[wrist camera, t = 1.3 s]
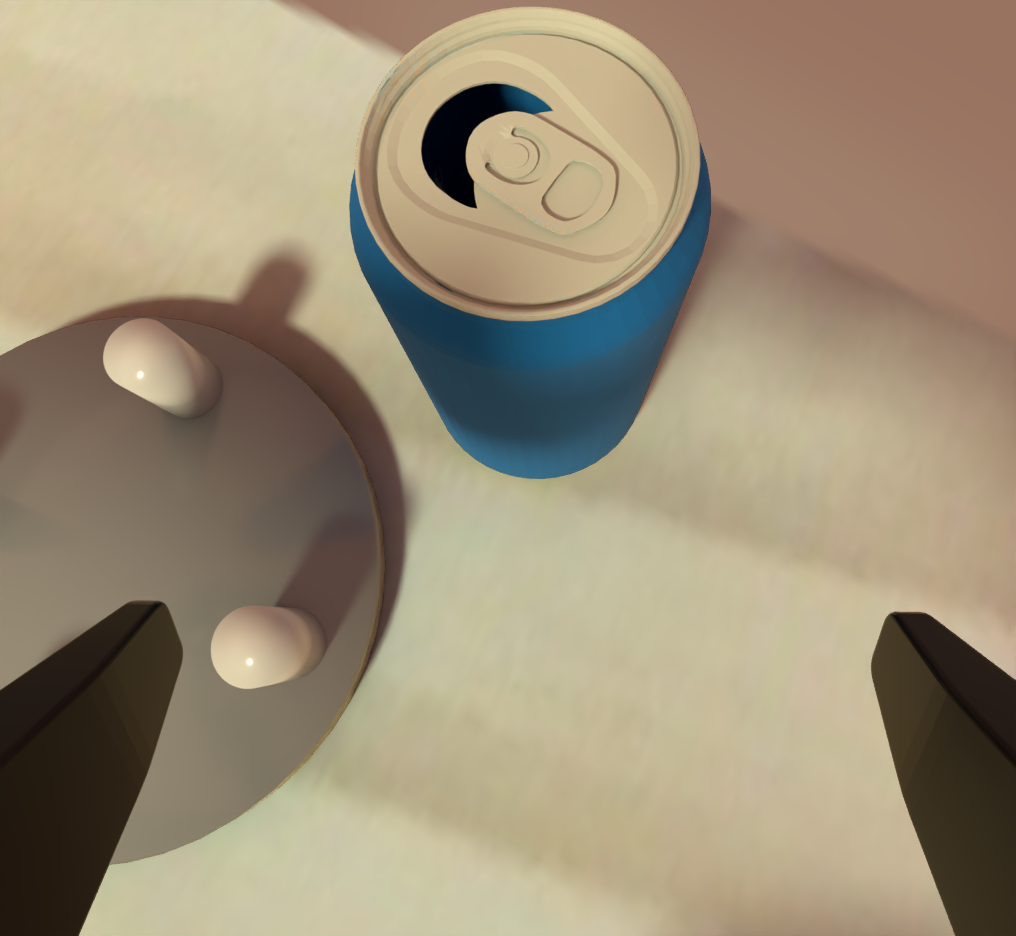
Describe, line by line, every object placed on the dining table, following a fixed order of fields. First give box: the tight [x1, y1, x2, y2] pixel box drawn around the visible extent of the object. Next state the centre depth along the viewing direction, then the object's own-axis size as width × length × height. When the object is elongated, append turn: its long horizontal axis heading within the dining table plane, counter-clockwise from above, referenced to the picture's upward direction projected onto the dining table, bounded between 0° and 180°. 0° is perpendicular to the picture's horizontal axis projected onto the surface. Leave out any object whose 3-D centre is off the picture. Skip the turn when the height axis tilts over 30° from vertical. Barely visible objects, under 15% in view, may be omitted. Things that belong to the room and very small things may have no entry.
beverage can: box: [349, 7, 711, 479], centre depth 18 cm, size 6×6×12 cm
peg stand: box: [0, 317, 385, 865], centre depth 21 cm, size 16×16×4 cm
